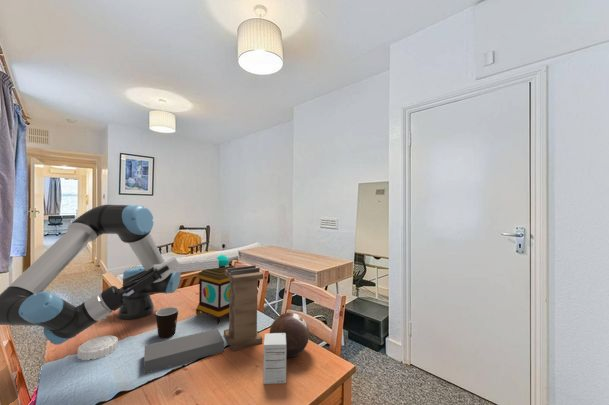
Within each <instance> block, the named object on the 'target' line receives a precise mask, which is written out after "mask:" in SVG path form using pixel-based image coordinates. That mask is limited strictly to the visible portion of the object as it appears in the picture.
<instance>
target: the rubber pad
mask: <svg viewBox="0 0 609 405" xmlns="http://www.w3.org/2000/svg"><path fill="white" fill-rule="evenodd" d="M223 352H225V340H224V338H223V336H222V334H221V332H220V331H219V329H218V328H215V329H210V330H206V331H201V332H198V333H193V334H188V335H183V336H180V337H176V338H171V339H168V340H162V341H160V342H154V343H150V344H145V345H144V352H143V354H144V357H143V358H144V359H143V374H144V373H145V374H147V373H148V374H149V373H151V371H152V372H156V371H159V370H162V369H166V368H169V366H170V367H173V366H176V364H177V365H181V364H183V363H188V362H190V361H194V359H195V360H198V359H202V358H206V357H209V356H212V355H213V356H214V355H216V354H219V353H223ZM180 363H181V364H180ZM155 370H156V371H155Z"/></svg>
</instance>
